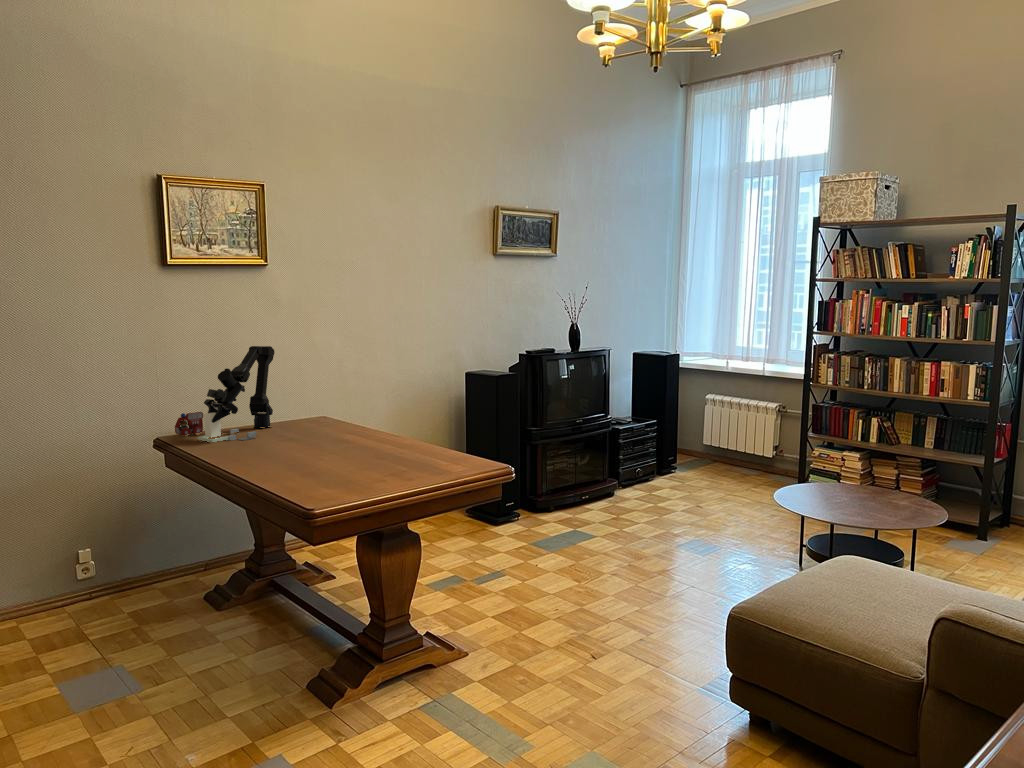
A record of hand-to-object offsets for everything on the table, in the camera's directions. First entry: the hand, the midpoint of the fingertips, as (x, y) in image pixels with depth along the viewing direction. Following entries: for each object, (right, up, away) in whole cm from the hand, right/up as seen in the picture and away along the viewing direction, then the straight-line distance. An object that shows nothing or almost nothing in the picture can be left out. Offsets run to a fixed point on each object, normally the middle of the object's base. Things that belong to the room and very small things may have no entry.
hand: (209, 421), depth 326 cm
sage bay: (+1, -8, +2) cm, 9 cm away
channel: (+7, -7, +9) cm, 14 cm away
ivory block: (+1, -6, +2) cm, 7 cm away
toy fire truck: (-15, -7, +17) cm, 24 cm away
